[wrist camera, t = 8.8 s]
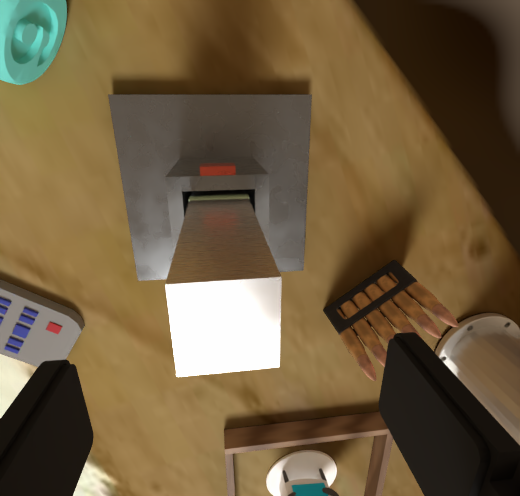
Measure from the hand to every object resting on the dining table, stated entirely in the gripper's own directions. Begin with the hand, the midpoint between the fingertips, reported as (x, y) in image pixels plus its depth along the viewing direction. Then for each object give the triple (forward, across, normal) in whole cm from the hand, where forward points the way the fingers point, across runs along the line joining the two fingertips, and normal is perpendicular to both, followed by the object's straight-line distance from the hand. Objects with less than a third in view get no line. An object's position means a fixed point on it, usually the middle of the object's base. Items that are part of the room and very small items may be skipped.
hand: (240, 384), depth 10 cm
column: (+19, +1, 0) cm, 19 cm away
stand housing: (+27, +1, 0) cm, 27 cm away
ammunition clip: (+27, -16, +12) cm, 34 cm away
